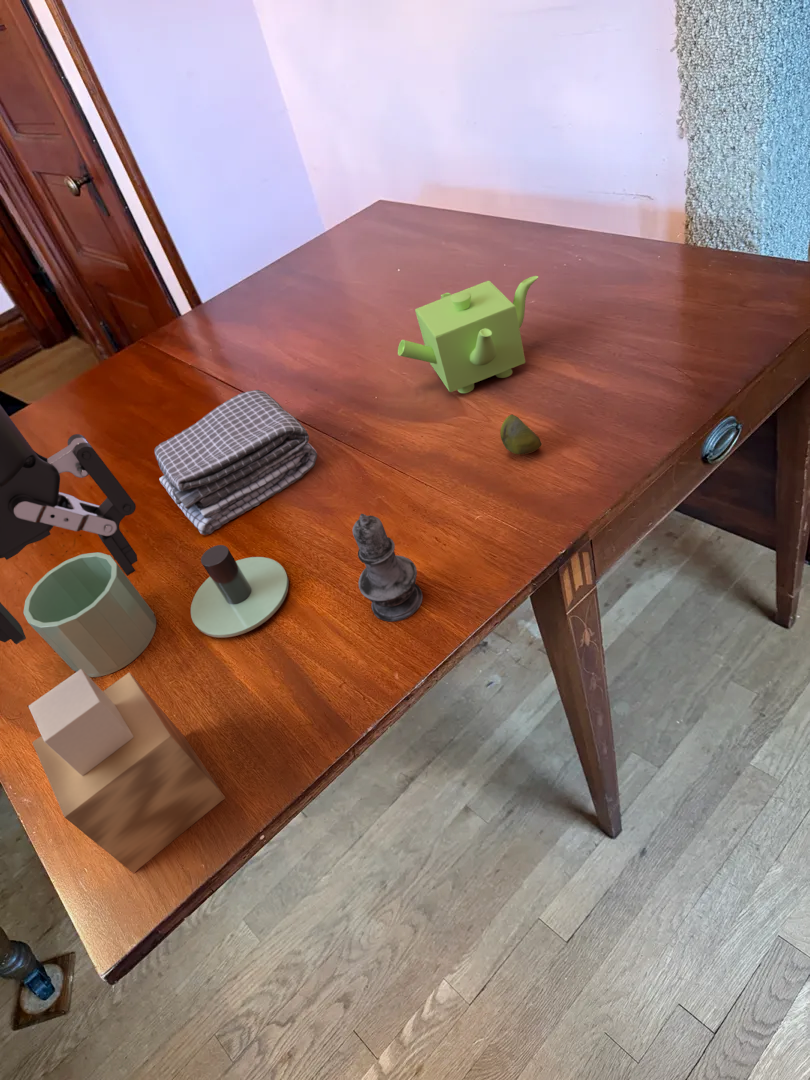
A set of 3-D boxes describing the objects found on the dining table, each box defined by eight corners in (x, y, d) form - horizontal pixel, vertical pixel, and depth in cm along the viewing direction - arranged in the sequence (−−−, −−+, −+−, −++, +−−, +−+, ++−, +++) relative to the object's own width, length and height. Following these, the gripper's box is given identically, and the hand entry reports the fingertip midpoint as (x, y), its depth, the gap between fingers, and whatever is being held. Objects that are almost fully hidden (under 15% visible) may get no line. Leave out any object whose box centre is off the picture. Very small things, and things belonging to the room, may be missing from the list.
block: (82, 776, 56) (44, 742, 53) (65, 740, 59) (27, 705, 56) (134, 737, 58) (100, 701, 54) (114, 704, 61) (81, 668, 57)
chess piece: (436, 587, 74) (405, 498, 67) (406, 631, 71) (370, 543, 63) (388, 573, 78) (353, 487, 70) (357, 615, 75) (317, 529, 67)
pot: (87, 694, 77) (38, 643, 71) (59, 644, 83) (13, 594, 78) (170, 634, 80) (130, 581, 74) (136, 590, 87) (98, 539, 81)
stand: (133, 873, 61) (64, 817, 54) (97, 800, 67) (31, 742, 60) (225, 797, 63) (170, 735, 57) (183, 734, 70) (129, 671, 63)
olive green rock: (509, 438, 89) (502, 404, 85) (549, 440, 86) (543, 404, 83) (498, 463, 86) (490, 428, 83) (539, 465, 84) (532, 429, 80)
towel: (327, 466, 94) (305, 416, 89) (198, 542, 90) (168, 494, 85) (280, 421, 105) (258, 374, 100) (163, 487, 101) (134, 441, 96)
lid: (222, 659, 75) (190, 614, 70) (179, 606, 83) (147, 563, 78) (309, 594, 79) (284, 547, 74) (260, 549, 86) (235, 504, 81)
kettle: (549, 343, 101) (537, 265, 94) (512, 406, 93) (496, 326, 86) (450, 341, 109) (432, 269, 101) (408, 399, 101) (385, 325, 93)
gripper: (-204, 507, 38) (-10, 691, 49) (52, 374, 43) (180, 570, 53) (-203, 455, 44) (-28, 631, 54) (25, 341, 48) (147, 525, 58)
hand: (75, 601), depth 54 cm, fingers open, 8 cm apart
